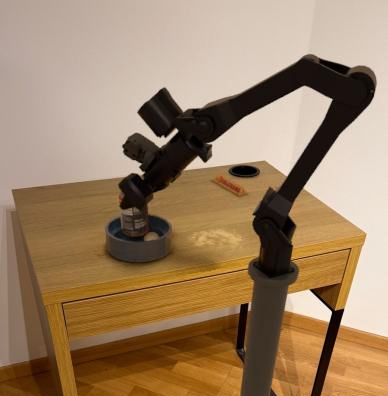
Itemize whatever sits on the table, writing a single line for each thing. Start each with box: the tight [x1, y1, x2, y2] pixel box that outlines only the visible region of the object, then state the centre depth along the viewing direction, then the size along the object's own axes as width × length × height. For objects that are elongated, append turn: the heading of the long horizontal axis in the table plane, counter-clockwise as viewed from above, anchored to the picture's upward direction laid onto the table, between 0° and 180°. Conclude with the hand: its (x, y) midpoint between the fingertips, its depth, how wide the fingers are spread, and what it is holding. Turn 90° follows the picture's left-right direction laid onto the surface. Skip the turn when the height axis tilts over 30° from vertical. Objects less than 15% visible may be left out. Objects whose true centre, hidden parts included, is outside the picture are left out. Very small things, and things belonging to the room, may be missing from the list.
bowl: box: [104, 213, 173, 263], centre depth 107 cm, size 14×14×5 cm
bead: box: [144, 232, 159, 241], centre depth 107 cm, size 4×4×4 cm
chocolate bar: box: [213, 172, 247, 197], centre depth 137 cm, size 3×12×2 cm, turn 33°
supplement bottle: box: [118, 190, 149, 237], centre depth 105 cm, size 6×6×11 cm
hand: (127, 202), depth 105 cm, fingers closed on supplement bottle, 6 cm apart
